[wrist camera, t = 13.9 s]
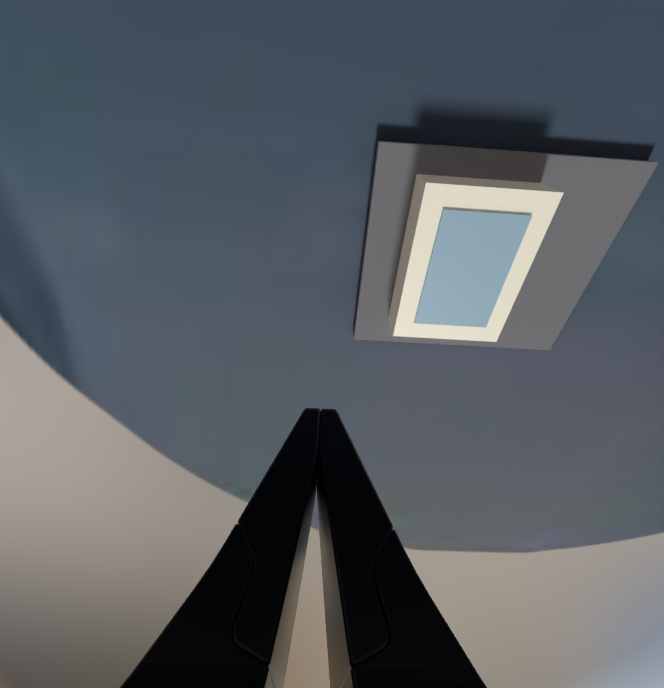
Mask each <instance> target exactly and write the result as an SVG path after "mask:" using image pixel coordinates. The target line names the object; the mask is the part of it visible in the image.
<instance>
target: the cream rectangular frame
mask: <svg viewBox="0 0 664 688" xmlns="http://www.w3.org/2000/svg"><path fill="white" fill-rule="evenodd" d="M563 194H564V192H561V191H559V190H556V189H554V188H552V187H549V186H547V185H544V184H542V183H534V182H520V181H506V180H493V179H479V178H465V177H452V176H438V175H425V174H417V175H416V180H415V185H414V190H413V195H412V200H411V205H410V210H409V215H408V220H407V225H406V230H405V235H404V241H403V246H402V251H401V256H400V261H399V266H398V271H397V276H396V281H395V286H394V291H393V296H392V302H391V307H390V312H389V317H388V318H389V322H390V326H391V330H392V334H393V336H400V337H418V338H435V339H453V340H470V341H488V342H497V339H498V337H499V335H500V333H501V331H502V328H503V326H504V324H505V322H506V320H507V317H508V315H509V313H510V311H511V309H512V306H513V304H514V302H515V300H516V297H517V295H518V293H519V291H520V289H521V286H522V284H523V282H524V280H525V278H526V275H527V273H528V271H529V269H530V267H531V264H532V262H533V260H534V258H535V256H536V253H537V251H538V249H539V247H540V244H541V242H542V240H543V238H544V236H545V233H546V231H547V229H548V227H549V225H550V222H551V220H552V218H553V216H554V214H555V211H556V209H557V207H558V205H559V203H560V200H561V198H562V196H563Z"/></svg>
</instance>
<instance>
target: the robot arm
mask: <svg viewBox="0 0 664 688" xmlns="http://www.w3.org/2000/svg"><path fill="white" fill-rule="evenodd" d="M317 470H318V471H317ZM316 486H317V505H318V520H319V534H320V548H321V562H322V577H323V591H324V604H325V620H326V634H327V648H328V663H329V677H330V688H487V687H486V685H485V684H484V682H483V681H482V679H481V678H480V676H479V675H478V673H477V672H476V670H475V668H474V667H473V665H472V663H471V662H470V660H469V659H468V657H467V655H466V654H465V652H464V650H463V649H462V647H461V646H460V644H459V642H458V641H457V639H456V637H455V636H454V634H453V633H452V631H451V629H450V628H449V626H448V625H447V623H446V622H445V620H444V618H443V617H442V615H441V613H440V612H439V610H438V608H437V607H436V605H435V604H434V602H433V600H432V598H431V597H430V595H429V594H428V592H427V590H426V588H425V587H424V585H423V583H422V581H421V580H420V578H419V576H418V575H417V573H416V571H415V569H414V567H413V565H412V563H411V562H410V559H409V558H408V556H407V554H406V552H405V550H404V548H403V546H402V544H401V542H400V540H399V538H398V536H397V533H396V531H395V530H392V529H393V526H392V524H391V521H390V519H389V517H388V515H387V513H386V511H385V509H384V507H383V505H382V503H381V501H380V499H379V497H378V495H377V493H376V490H375V488H374V486H373V484H372V482H371V480H370V478H369V476H368V474H367V472H366V470H365V468H364V466H363V464H362V462H361V459H360V457H359V455H358V453H357V451H356V449H355V447H354V445H353V443H352V441H351V439H350V437H349V435H348V433H347V431H346V428H345V426H344V424H343V422H342V420H341V418H340V416H339V414H338V412H337V411H336V410H335V409H322V410H321V414H320V409H318V408H306V409H305V410H304V411H303V412H302V414H301V416H300V417H299V419H298V421H297V422H296V424H295V426H294V428H293V429H292V431H291V433H290V434H289V436H288V438H287V439H286V441H285V443H284V444H283V446H282V448H281V449H280V451H279V453H278V454H277V456H276V458H275V459H274V461H273V463H272V464H271V466H270V468H269V470H268V471H267V473H266V475H265V476H264V478H263V480H262V481H261V483H260V485H259V486H258V488H257V490H256V491H255V493H254V495H253V496H252V498H251V500H250V501H249V503H248V505H247V506H246V508H245V510H244V512H243V513H242V515H241V517H240V518H239V520H238V524H236V525H235V527H234V528H233V530H232V531H231V533H230V535H229V536H228V538H227V540H226V541H225V543H224V545H223V546H222V548H221V550H220V551H219V553H218V554H217V556H216V557H215V559H214V560H213V562H212V563H211V565H210V567H209V568H208V569H207V571H206V572H205V574H204V575H203V577H202V578H201V580H200V581H199V582H198V584H197V585H196V586H195V588H194V589H193V591H192V592H191V593H190V595H189V596H188V598H187V599H186V600H185V602H184V603H183V604H182V606H181V607H180V608H179V610H178V611H177V612H176V614H175V615H174V616H173V618H172V619H171V620H170V622H169V623H168V624H167V626H166V627H165V628H164V630H163V631H162V633H161V634H160V635H159V637H158V638H157V640H156V641H155V642H154V643H153V645H152V646H151V647H150V649H149V650H148V651H147V653H146V654H145V655H144V657H143V658H142V660H141V661H140V662H139V663H138V665H137V666H136V667H135V669H134V670H133V671H132V673H131V674H130V675H129V676H128V678H127V679H126V680H125V681H124V683H123V684H122V685H121V686H120V687H119V688H283V685H284V679H285V674H286V668H287V662H288V656H289V650H290V644H291V638H292V632H293V626H294V620H295V614H296V608H297V603H298V597H299V591H300V585H301V579H302V573H303V567H304V561H305V555H306V549H307V544H308V538H309V532H310V526H311V520H312V514H313V508H314V502H315V495H316Z"/></svg>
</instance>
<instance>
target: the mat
mask: <svg viewBox="0 0 664 688" xmlns="http://www.w3.org/2000/svg"><path fill="white" fill-rule="evenodd" d="M657 165H658V162H653V161H648V160H634V159H621V158H607V157H594V156H581V155H567V154H554V153H540V152H527V151H513V150H500V149H487V148H473V147H460V146H446V145H433V144H420V143H406V142H393V141H379V140H378V142H377V150H376V158H375V166H374V174H373V182H372V190H371V198H370V206H369V214H368V222H367V230H366V238H365V246H364V254H363V262H362V270H361V278H360V286H359V294H358V302H357V310H356V319H355V327H354V339H355V340H374V341H392V342H410V343H428V344H446V345H464V346H482V347H501V348H519V349H537V350H550V348H551V347H552V345H553V343H554V342H555V340H556V338H557V336H558V335H559V333H560V331H561V330H562V328H563V326H564V324H565V323H566V321H567V319H568V317H569V316H570V314H571V312H572V311H573V309H574V307H575V305H576V304H577V302H578V300H579V299H580V297H581V295H582V293H583V292H584V290H585V288H586V287H587V285H588V283H589V281H590V280H591V278H592V276H593V275H594V273H595V271H596V269H597V268H598V266H599V264H600V263H601V261H602V259H603V257H604V256H605V254H606V252H607V250H608V249H609V247H610V245H611V244H612V242H613V240H614V238H615V237H616V235H617V233H618V232H619V230H620V228H621V226H622V225H623V223H624V221H625V220H626V218H627V216H628V214H629V213H630V211H631V209H632V208H633V206H634V204H635V202H636V201H637V199H638V197H639V196H640V194H641V192H642V190H643V189H644V187H645V185H646V183H647V182H648V180H649V178H650V177H651V175H652V173H653V171H654V170H655V168H656V166H657ZM417 174H425V175H438V176H452V177H465V178H479V179H493V180H506V181H520V182H534V183H542V184H544V185H547V186H549V187H552V188H554V189H556V190H559V191H561V192H564V194H563V196H562V198H561V200H560V203H559V205H558V207H557V209H556V211H555V214H554V216H553V218H552V220H551V222H550V225H549V227H548V229H547V231H546V233H545V236H544V238H543V240H542V242H541V244H540V247H539V249H538V251H537V253H536V256H535V258H534V260H533V262H532V264H531V267H530V269H529V271H528V273H527V275H526V278H525V280H524V282H523V284H522V286H521V289H520V291H519V293H518V295H517V297H516V300H515V302H514V304H513V306H512V309H511V311H510V313H509V315H508V317H507V320H506V322H505V324H504V326H503V328H502V331H501V333H500V335H499V337H498V339H497V342H488V341H470V340H453V339H435V338H418V337H400V336H393V334H392V330H391V326H390V322H389V318H388V317H389V312H390V307H391V302H392V296H393V291H394V286H395V281H396V276H397V271H398V266H399V261H400V256H401V251H402V246H403V241H404V235H405V230H406V225H407V220H408V215H409V210H410V205H411V200H412V195H413V190H414V185H415V180H416V175H417Z"/></svg>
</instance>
